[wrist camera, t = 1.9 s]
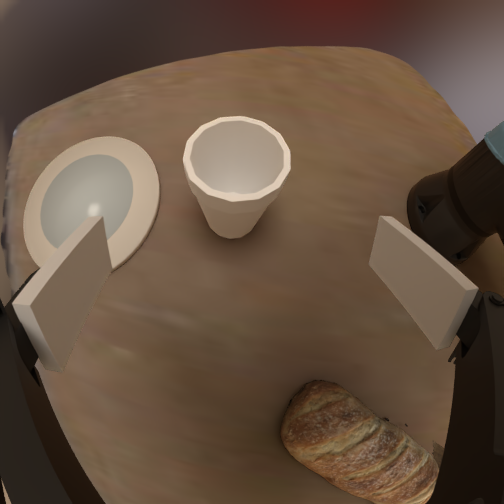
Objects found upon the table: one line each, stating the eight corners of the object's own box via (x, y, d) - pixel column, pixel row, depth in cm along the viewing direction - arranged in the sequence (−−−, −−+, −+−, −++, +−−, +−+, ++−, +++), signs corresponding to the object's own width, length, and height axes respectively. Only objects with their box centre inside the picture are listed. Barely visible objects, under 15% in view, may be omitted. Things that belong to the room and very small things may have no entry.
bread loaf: (215, 452, 29) (214, 490, 20) (297, 340, 33) (323, 346, 24) (398, 514, 27) (425, 538, 18) (456, 431, 31) (493, 443, 22)
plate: (115, 120, 40) (113, 114, 38) (193, 207, 36) (192, 203, 35) (13, 203, 34) (9, 200, 32) (65, 316, 30) (60, 315, 29)
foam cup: (266, 254, 35) (290, 208, 23) (190, 247, 35) (174, 197, 22) (269, 186, 38) (289, 122, 26) (200, 180, 38) (194, 112, 25)
